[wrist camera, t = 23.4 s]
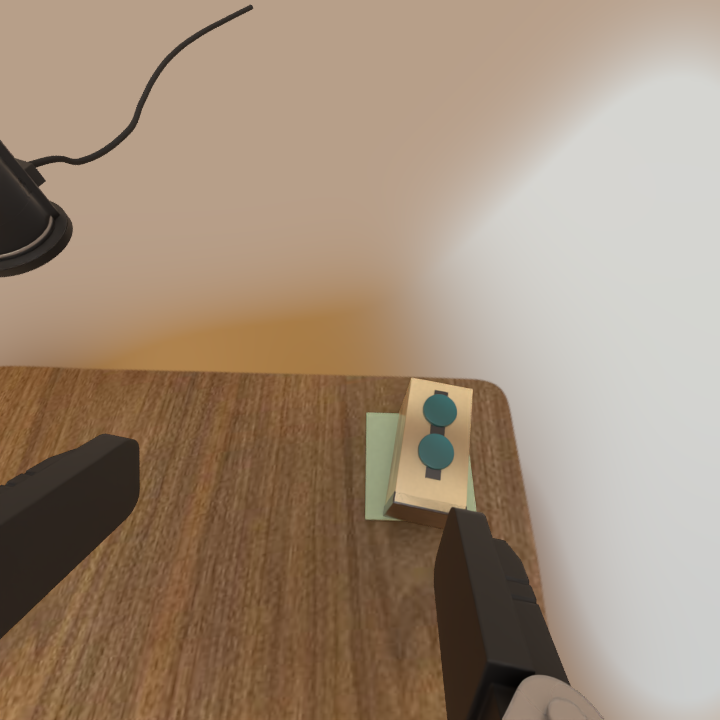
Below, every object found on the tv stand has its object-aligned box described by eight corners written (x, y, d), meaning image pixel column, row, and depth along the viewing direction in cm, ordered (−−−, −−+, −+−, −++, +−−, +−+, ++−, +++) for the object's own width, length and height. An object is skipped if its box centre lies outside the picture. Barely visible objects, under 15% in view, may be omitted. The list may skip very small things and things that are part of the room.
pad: (366, 414, 34) (366, 412, 34) (462, 417, 35) (464, 415, 34) (365, 520, 30) (365, 519, 30) (475, 522, 30) (477, 522, 30)
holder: (399, 411, 34) (411, 374, 28) (450, 421, 34) (475, 386, 27) (382, 516, 30) (393, 502, 23) (441, 528, 29) (468, 518, 23)
